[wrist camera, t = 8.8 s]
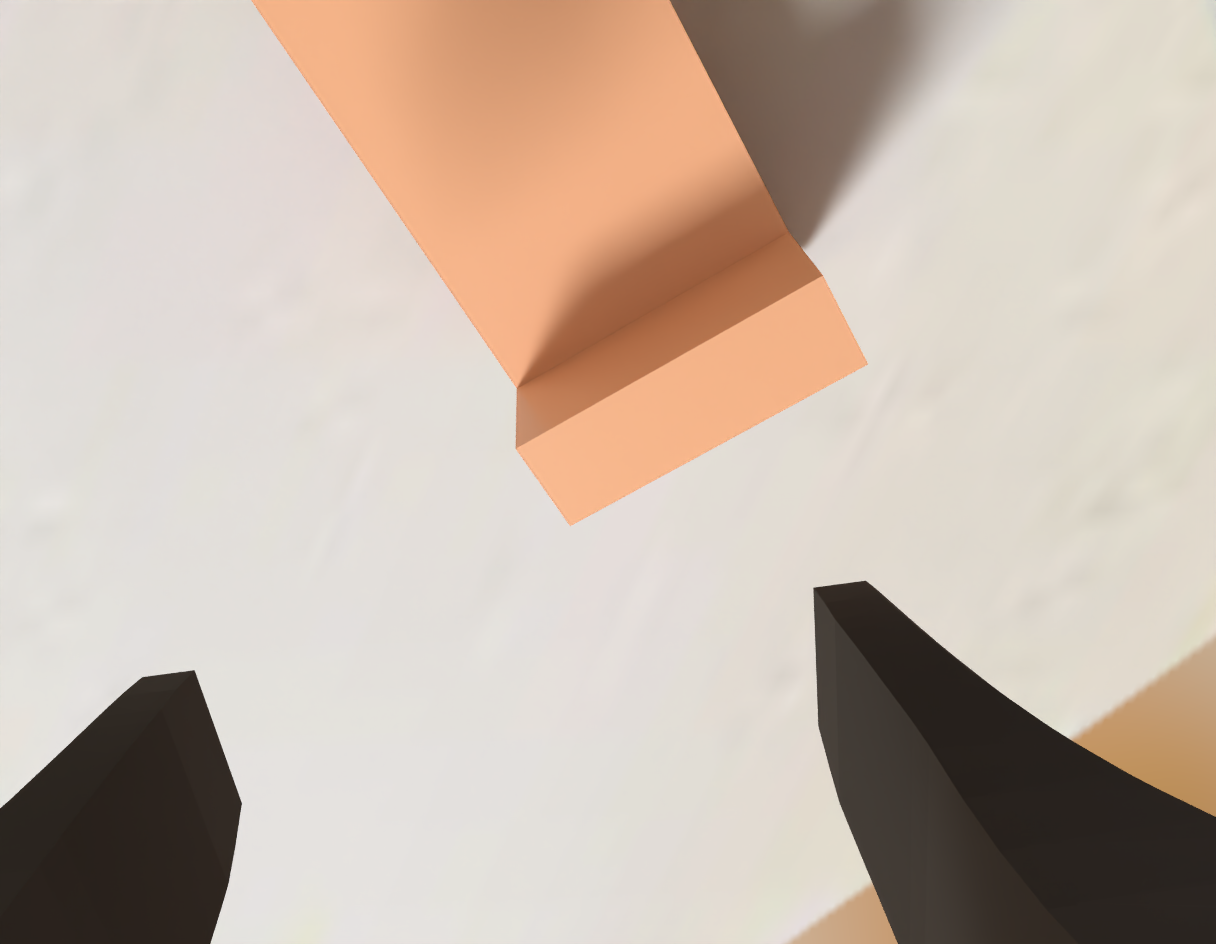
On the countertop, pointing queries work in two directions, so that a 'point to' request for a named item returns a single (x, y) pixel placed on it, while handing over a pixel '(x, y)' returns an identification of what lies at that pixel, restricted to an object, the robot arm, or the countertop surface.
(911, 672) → the robot arm
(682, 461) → the peach l-shaped bracket
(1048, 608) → the countertop surface
